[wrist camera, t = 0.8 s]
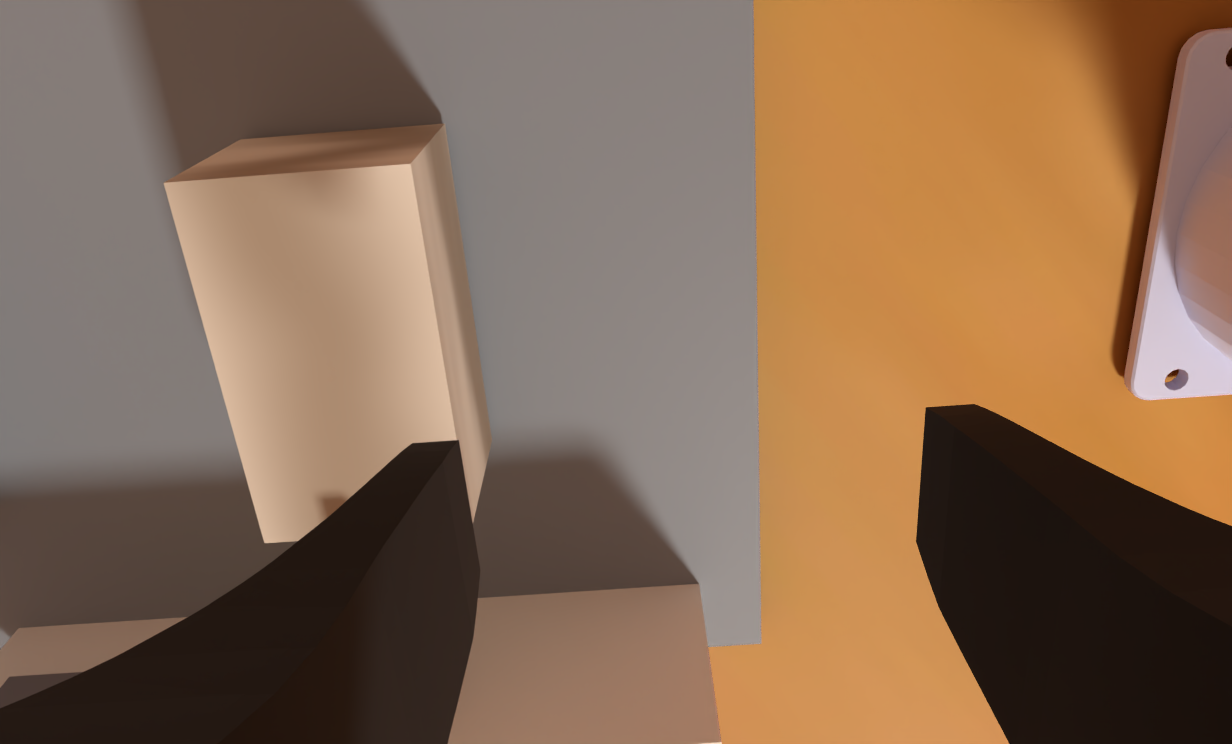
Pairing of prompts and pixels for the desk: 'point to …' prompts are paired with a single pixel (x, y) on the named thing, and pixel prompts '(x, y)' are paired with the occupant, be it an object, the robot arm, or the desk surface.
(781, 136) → the desk surface
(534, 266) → the gauge board
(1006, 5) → the desk surface
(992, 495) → the robot arm
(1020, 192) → the desk surface
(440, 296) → the block
